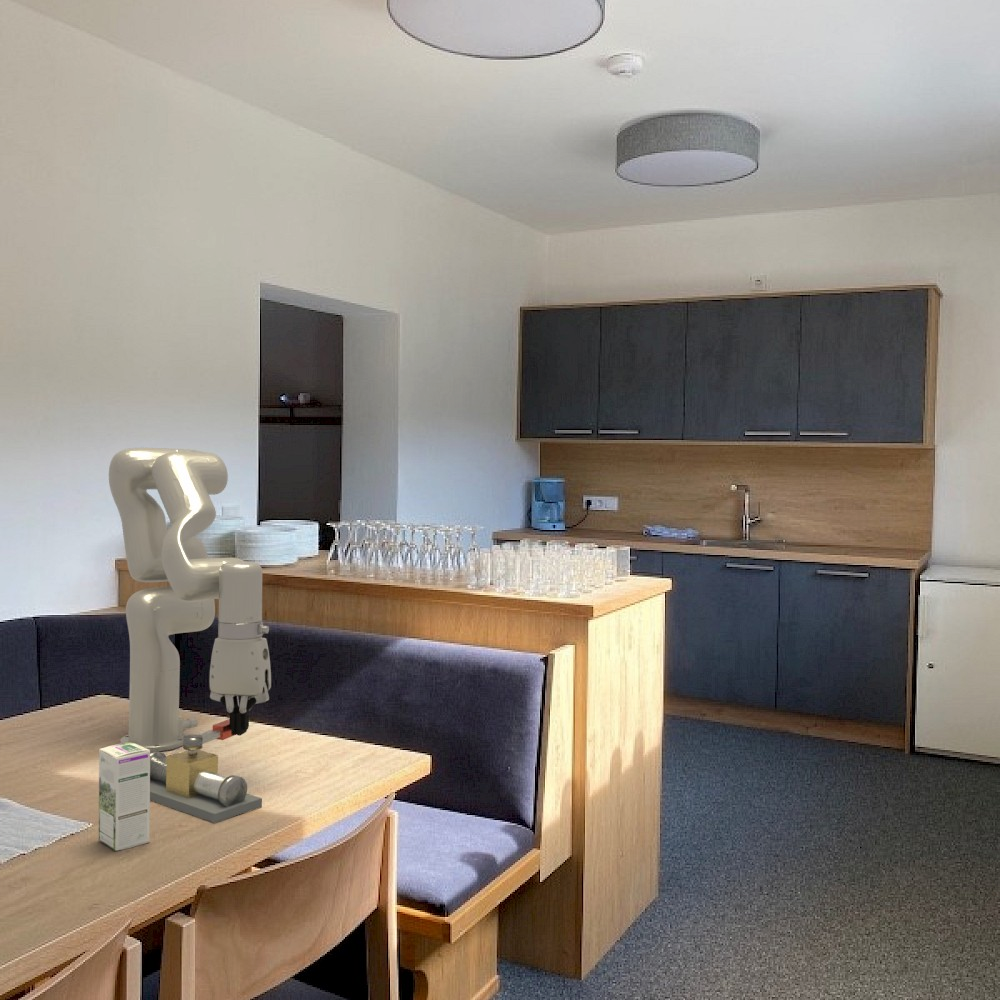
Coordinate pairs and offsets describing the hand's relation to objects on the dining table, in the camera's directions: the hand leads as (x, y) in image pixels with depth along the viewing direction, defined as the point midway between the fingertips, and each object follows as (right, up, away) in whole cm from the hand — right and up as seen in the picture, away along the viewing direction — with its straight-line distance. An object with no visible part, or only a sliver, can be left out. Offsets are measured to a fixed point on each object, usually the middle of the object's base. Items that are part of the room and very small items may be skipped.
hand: (239, 733), depth 185 cm
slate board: (-6, -10, -7) cm, 14 cm away
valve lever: (-4, -2, -2) cm, 5 cm away
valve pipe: (-6, -10, -7) cm, 14 cm away
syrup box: (-11, -11, -27) cm, 31 cm away
